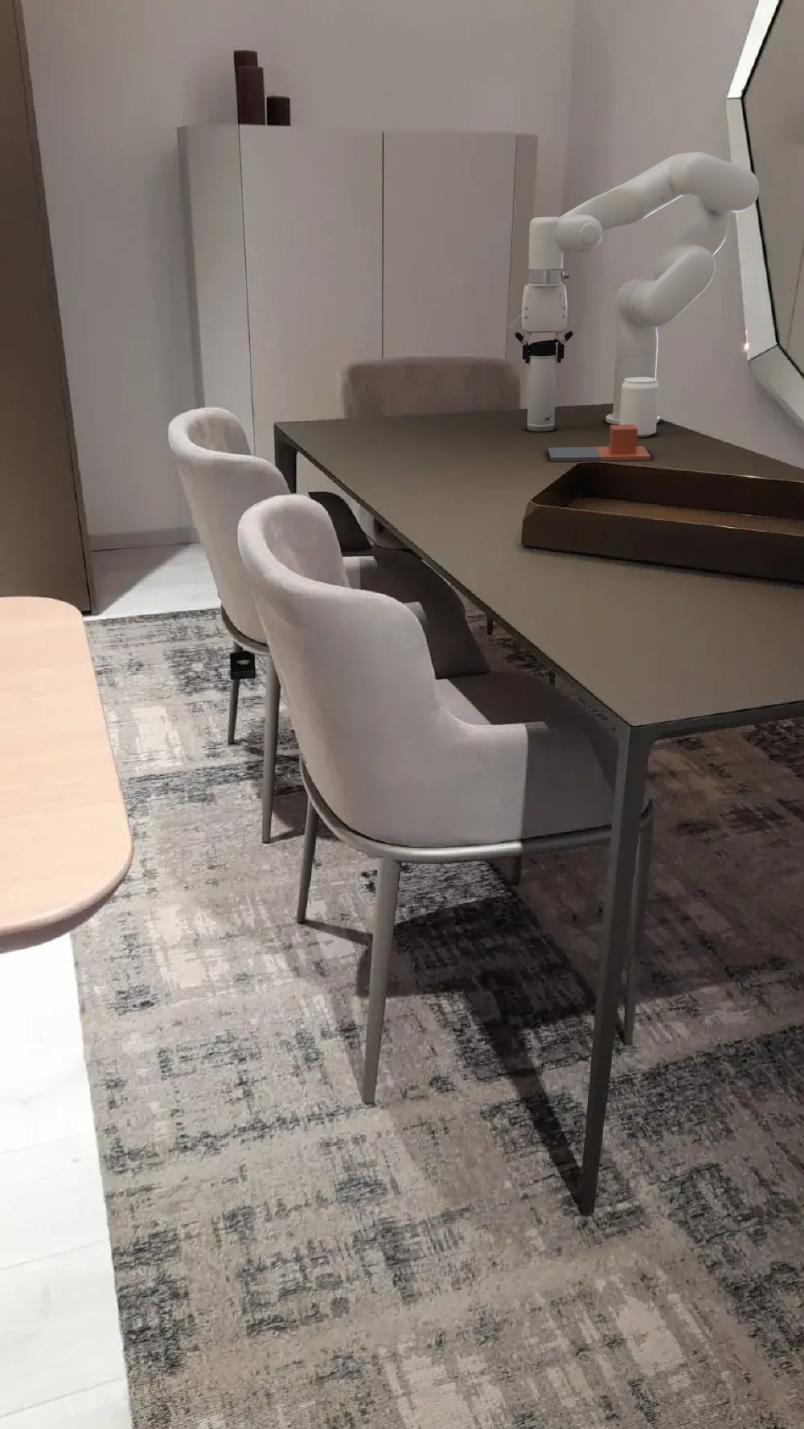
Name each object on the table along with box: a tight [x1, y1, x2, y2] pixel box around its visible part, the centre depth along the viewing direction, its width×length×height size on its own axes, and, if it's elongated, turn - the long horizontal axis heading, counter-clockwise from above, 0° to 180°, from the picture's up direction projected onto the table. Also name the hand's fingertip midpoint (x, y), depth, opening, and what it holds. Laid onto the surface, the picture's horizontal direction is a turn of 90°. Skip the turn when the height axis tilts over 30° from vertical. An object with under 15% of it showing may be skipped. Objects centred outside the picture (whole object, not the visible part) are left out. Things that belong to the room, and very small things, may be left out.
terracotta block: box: [608, 424, 638, 454], centre depth 227 cm, size 5×5×5 cm
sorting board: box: [547, 445, 651, 462], centre depth 228 cm, size 10×20×1 cm, turn 87°
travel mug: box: [526, 338, 559, 433], centre depth 252 cm, size 6×7×20 cm
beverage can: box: [619, 377, 660, 438], centre depth 245 cm, size 8×8×12 cm
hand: (542, 362), depth 250 cm, fingers closed on travel mug, 6 cm apart
